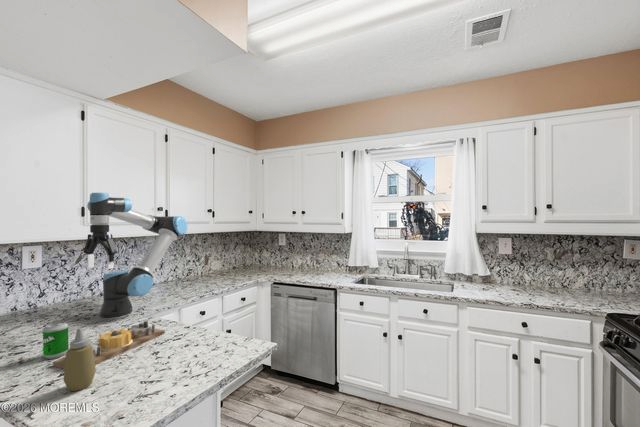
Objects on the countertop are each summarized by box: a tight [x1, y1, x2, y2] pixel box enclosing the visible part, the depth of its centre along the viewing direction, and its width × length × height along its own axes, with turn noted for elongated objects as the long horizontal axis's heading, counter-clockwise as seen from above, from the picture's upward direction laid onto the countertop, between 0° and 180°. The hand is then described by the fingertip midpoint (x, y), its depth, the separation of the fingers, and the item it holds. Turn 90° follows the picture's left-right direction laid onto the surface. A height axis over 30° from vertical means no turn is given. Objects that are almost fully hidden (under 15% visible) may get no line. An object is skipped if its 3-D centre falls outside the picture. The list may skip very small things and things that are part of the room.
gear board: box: [52, 320, 166, 370], centre depth 125 cm, size 36×14×7 cm, turn 160°
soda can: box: [42, 321, 70, 360], centre depth 119 cm, size 8×8×12 cm
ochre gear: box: [97, 328, 132, 350], centre depth 125 cm, size 11×11×4 cm
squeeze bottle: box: [63, 328, 97, 392], centre depth 97 cm, size 8×8×18 cm
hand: (100, 268), depth 149 cm, fingers open, 13 cm apart
